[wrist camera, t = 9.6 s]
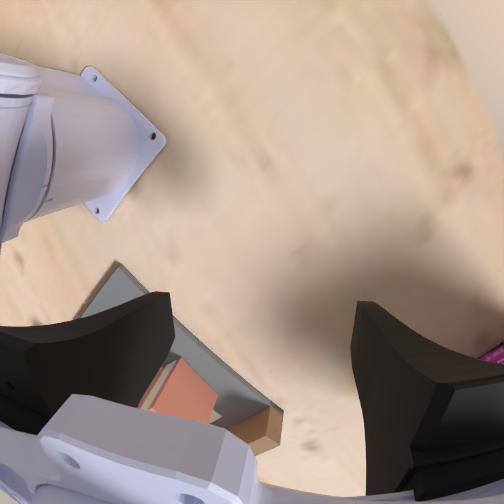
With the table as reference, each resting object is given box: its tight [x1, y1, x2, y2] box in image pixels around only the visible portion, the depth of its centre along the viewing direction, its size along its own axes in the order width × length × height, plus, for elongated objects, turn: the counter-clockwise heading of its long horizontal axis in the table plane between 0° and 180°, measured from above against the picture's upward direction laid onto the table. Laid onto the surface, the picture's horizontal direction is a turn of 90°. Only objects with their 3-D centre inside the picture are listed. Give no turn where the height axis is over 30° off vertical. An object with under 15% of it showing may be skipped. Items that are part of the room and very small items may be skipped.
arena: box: [81, 265, 284, 456], centre depth 24 cm, size 18×14×4 cm
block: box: [137, 357, 218, 423], centre depth 22 cm, size 5×9×6 cm, turn 128°
